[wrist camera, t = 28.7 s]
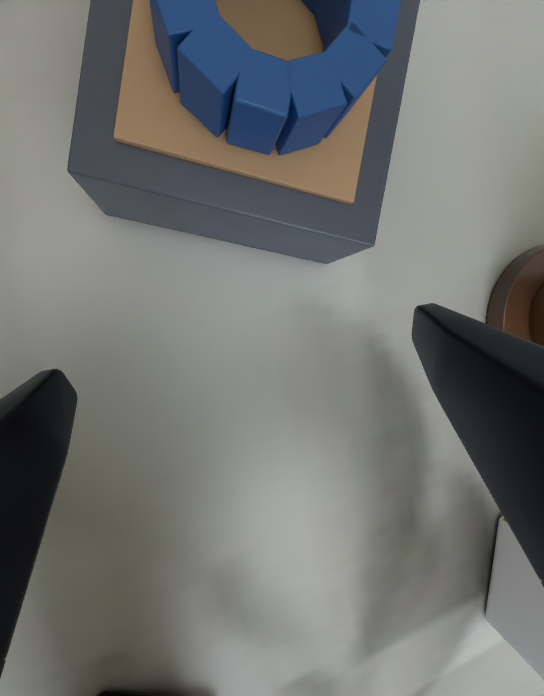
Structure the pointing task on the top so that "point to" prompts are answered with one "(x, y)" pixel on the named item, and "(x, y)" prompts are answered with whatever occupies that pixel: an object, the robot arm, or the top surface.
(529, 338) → the stand
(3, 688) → the top surface
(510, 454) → the robot arm
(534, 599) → the medicine bottle
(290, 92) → the ring
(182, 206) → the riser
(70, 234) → the top surface
